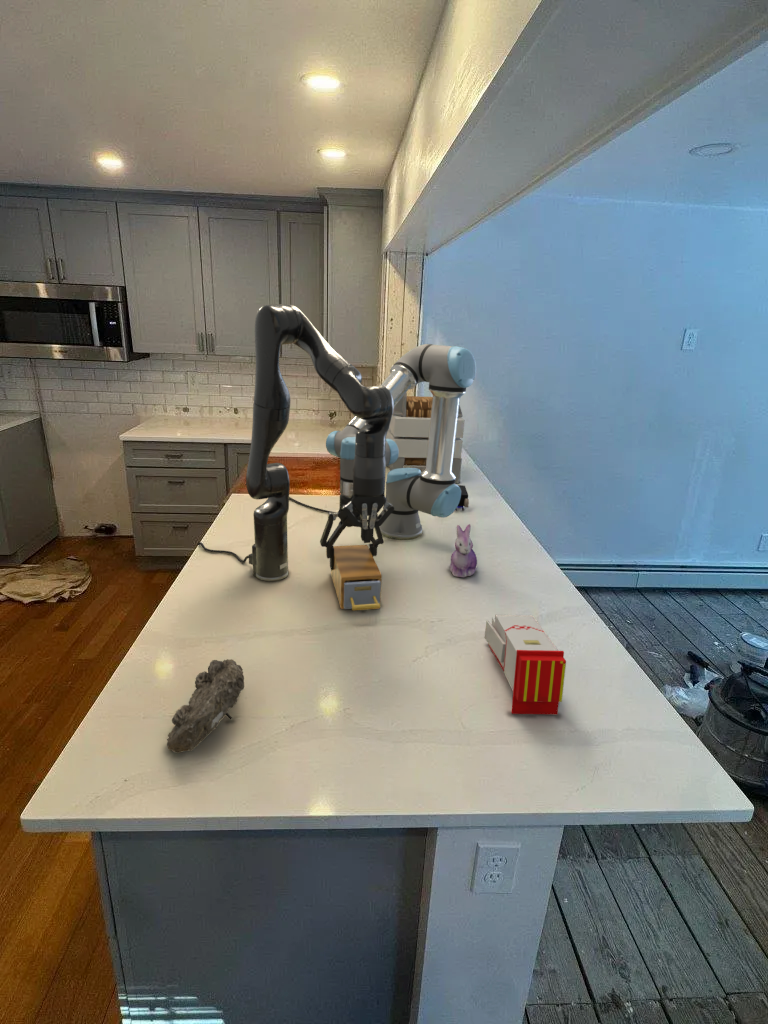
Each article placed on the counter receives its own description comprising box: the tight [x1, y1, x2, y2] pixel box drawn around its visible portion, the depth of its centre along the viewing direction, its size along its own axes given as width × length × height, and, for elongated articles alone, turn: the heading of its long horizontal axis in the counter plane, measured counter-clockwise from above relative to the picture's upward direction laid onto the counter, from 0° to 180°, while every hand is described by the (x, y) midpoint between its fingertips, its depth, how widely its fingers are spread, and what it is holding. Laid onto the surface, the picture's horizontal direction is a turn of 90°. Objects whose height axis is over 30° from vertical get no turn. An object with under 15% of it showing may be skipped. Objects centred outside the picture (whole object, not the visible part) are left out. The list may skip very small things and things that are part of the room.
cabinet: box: [330, 544, 383, 610], centre depth 158 cm, size 20×11×9 cm, turn 12°
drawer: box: [343, 579, 382, 611], centre depth 153 cm, size 25×9×7 cm, turn 12°
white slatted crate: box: [386, 392, 465, 484], centre depth 268 cm, size 34×33×41 cm
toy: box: [484, 614, 567, 716], centre depth 124 cm, size 12×13×30 cm
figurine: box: [449, 523, 478, 578], centre depth 170 cm, size 9×10×15 cm
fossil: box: [166, 658, 245, 754], centre depth 106 cm, size 22×10×15 cm
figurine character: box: [455, 484, 470, 512], centre depth 229 cm, size 7×8×15 cm
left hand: (366, 541), depth 138 cm, fingers closed
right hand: (351, 567), depth 163 cm, fingers closed on cabinet, 11 cm apart
